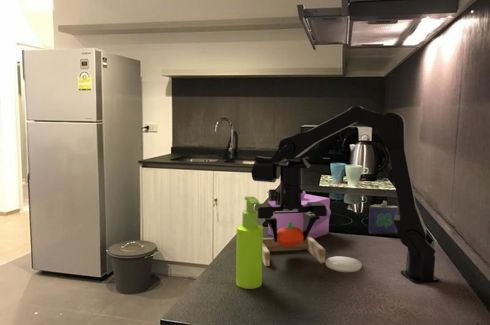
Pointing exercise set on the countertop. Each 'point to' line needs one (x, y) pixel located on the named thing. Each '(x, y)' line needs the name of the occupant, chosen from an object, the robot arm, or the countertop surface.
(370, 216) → the flask
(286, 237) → the pumpkin
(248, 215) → the soap dispenser
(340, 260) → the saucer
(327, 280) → the countertop surface
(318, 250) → the wooden frame
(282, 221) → the teapot
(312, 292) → the countertop surface
